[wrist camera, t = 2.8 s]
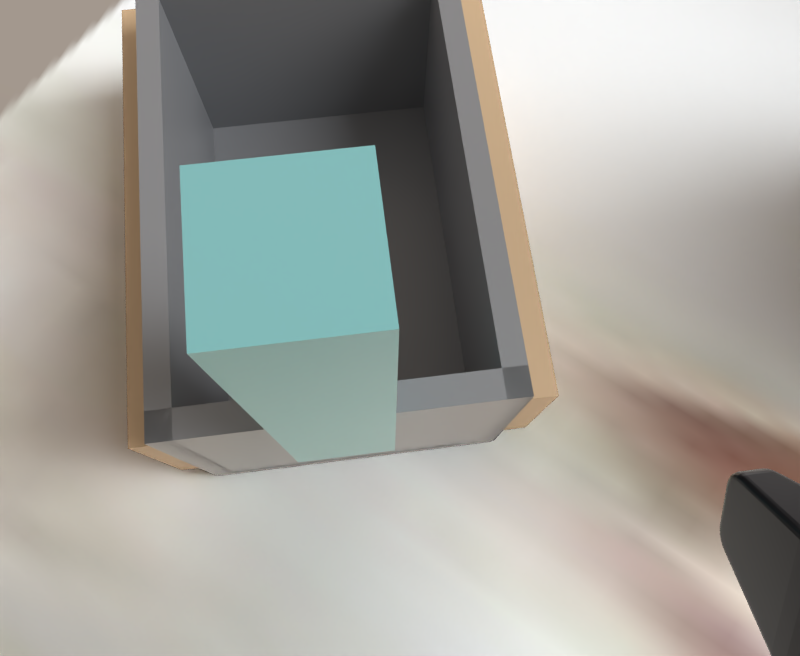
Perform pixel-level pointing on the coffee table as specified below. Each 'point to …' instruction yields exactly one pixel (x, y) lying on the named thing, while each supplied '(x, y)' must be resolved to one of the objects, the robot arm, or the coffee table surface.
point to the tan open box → (507, 202)
